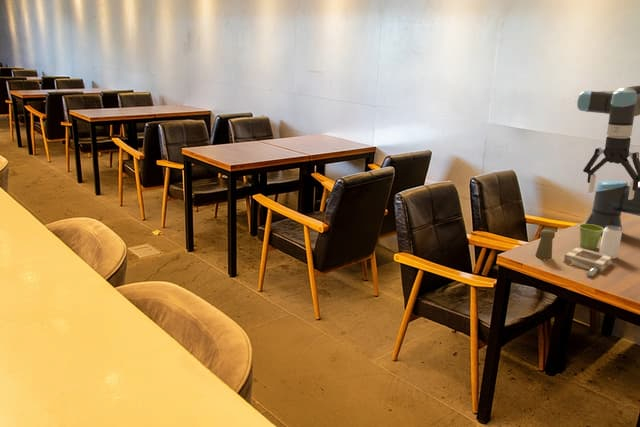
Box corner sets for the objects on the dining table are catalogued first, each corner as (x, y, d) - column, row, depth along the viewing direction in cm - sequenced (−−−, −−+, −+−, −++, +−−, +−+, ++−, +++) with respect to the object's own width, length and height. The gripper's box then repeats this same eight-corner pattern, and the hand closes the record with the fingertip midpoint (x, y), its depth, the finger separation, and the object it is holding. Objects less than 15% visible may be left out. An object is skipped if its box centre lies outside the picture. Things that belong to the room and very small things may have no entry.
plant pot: (585, 251, 216) (589, 231, 213) (570, 243, 225) (574, 223, 222) (605, 251, 218) (609, 230, 215) (589, 242, 227) (593, 223, 224)
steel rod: (595, 268, 199) (596, 263, 198) (600, 270, 197) (601, 265, 197) (585, 276, 192) (586, 270, 191) (591, 277, 190) (592, 272, 190)
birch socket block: (575, 254, 213) (577, 246, 212) (611, 263, 204) (612, 256, 203) (563, 262, 204) (565, 254, 203) (600, 272, 195) (601, 265, 194)
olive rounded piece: (531, 255, 210) (536, 228, 206) (543, 253, 212) (548, 226, 209) (543, 260, 204) (548, 233, 201) (555, 258, 207) (560, 231, 204)
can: (618, 260, 208) (625, 231, 205) (600, 258, 209) (607, 229, 206) (613, 254, 214) (619, 225, 211) (596, 252, 216) (602, 224, 212)
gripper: (577, 134, 194) (571, 191, 200) (654, 142, 175) (644, 204, 182) (587, 131, 198) (580, 187, 205) (662, 139, 180) (652, 200, 186)
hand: (610, 195), depth 193 cm, fingers open, 13 cm apart
